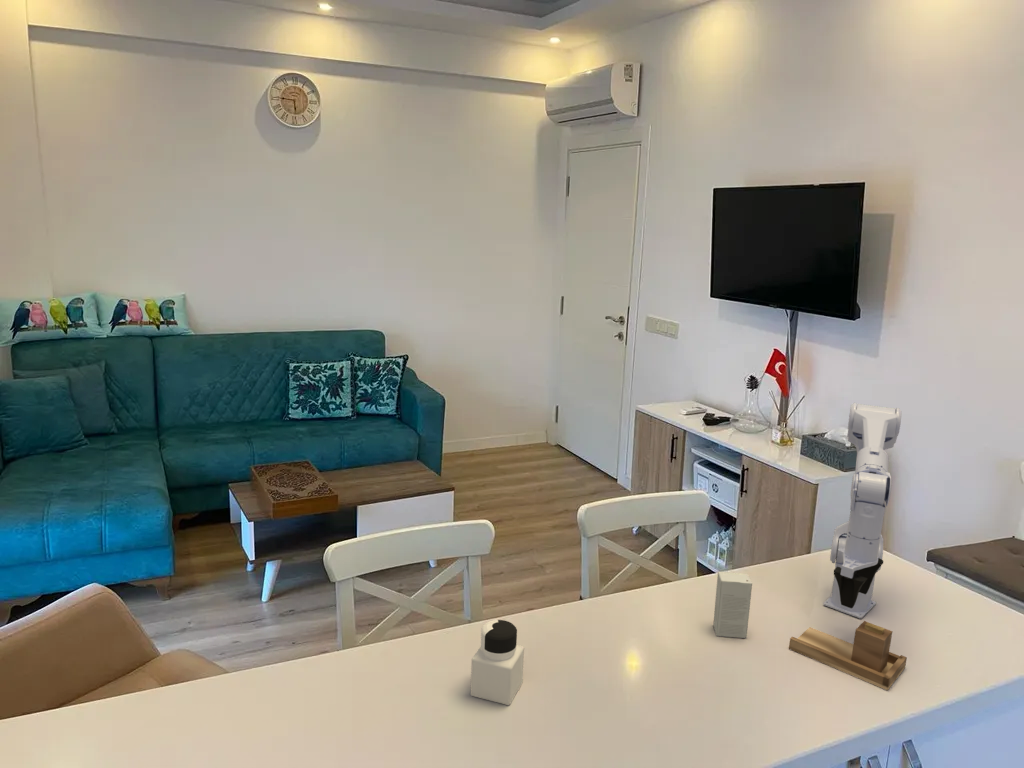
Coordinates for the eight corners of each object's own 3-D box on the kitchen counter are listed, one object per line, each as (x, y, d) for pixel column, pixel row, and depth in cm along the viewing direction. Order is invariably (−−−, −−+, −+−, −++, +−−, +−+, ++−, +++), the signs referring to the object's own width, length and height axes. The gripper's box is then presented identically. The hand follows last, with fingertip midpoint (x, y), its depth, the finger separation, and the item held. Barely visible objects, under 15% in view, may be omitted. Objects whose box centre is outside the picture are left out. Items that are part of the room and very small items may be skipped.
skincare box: (742, 627, 151) (748, 573, 148) (746, 639, 147) (753, 583, 144) (711, 625, 152) (717, 570, 149) (715, 636, 147) (721, 580, 145)
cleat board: (809, 629, 151) (810, 619, 151) (905, 667, 139) (906, 657, 139) (788, 648, 144) (790, 638, 144) (887, 690, 132) (889, 679, 132)
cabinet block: (859, 654, 142) (864, 616, 140) (886, 665, 139) (893, 627, 137) (850, 663, 139) (856, 625, 137) (878, 675, 136) (885, 636, 134)
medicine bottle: (523, 682, 130) (526, 620, 128) (509, 706, 124) (512, 641, 121) (485, 673, 133) (487, 611, 130) (469, 696, 126) (471, 632, 123)
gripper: (855, 517, 149) (846, 579, 152) (828, 538, 139) (819, 604, 142) (893, 527, 144) (882, 591, 147) (867, 550, 134) (857, 618, 137)
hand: (854, 598), depth 144 cm, fingers open, 7 cm apart
